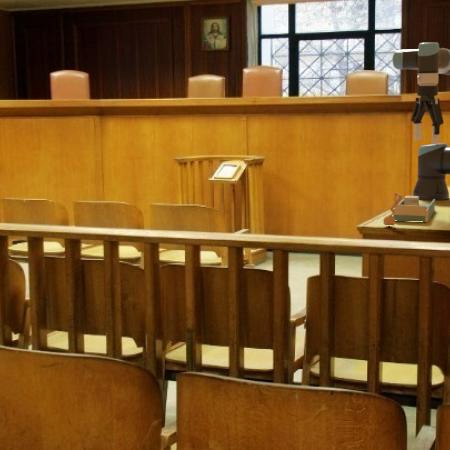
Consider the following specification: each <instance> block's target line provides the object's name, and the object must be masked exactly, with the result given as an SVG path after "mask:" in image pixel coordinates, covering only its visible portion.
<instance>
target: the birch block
mask: <svg viewBox="0 0 450 450" xmlns="http://www.w3.org/2000/svg"><path fill="white" fill-rule="evenodd" d="M403 199H404V205H416V206H418V205H419V204H420V199H419V196H413V195H405V196H404V197H403Z"/></svg>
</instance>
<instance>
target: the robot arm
mask: <svg viewBox="0 0 450 450" xmlns="http://www.w3.org/2000/svg"><path fill="white" fill-rule="evenodd" d="M392 65H393V67H394V68H395V70H401V71H402V70H403V71H404V70H417V77H416V79H417V85H418V86H416V89H417V90H416V92H417V93H416V94H417V96H419V97H415V103H414V107H413V111H412V115H411V119H410V121H411V122H412V123H413V127H414V128H413V141H414V142H417V141H418V142H419V141H420V142H421V141H422V130H423V129H422V126H423V125H422V120H423V117H424V115H425V113H426V112H427V113H428V115H429V116H430V121H431V123H432V124H431V144H425V145H424V144H422V145H420V146H419V148H418V153H417V180H416V182H415V185H414V188H413V191H412V196H419V200H426V201H433V199H435V201H442V200H443V201H444V200H447V199H449V198H450V192H449V188H448V184H447V181H446V176H447V175H450V146H448V144H447V142H442V143H440V134H441V133H440V129H441V127H440V126H442V125H443V124H444V118H443V113H442V110H441V105H440V100H441V99H440V98H439V97H437V98H435V96H438V94H439V86H438V84H439V74H440V75H441V74H442V75H446V76H450V49H448V48H444V47H441V48H440V44H439V42H437V41H436V42H420V43H419V44H418V48H417V49H416V48H415V49H413V48H411V49H410V48H409V49H403V48H402V49H397V50H395V51H394V52H393V55H392Z"/></svg>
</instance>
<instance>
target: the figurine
mask: <svg viewBox="0 0 450 450" xmlns="http://www.w3.org/2000/svg"><path fill="white" fill-rule="evenodd" d="M393 195H394V197H393V198H394V203H393V204H392V205H391V207H390V208H389V210H390V211H391V214H389V215H388V214H387V215H386V216H384V218H383V225H384V226H385V225H393V226H395V225H396V222H395V218H394V217H393V214H394V211H395V210H394V208H395V207H396V206H397V205H398V204H399V203H400V202H401V201H402V200H403V194H402V193H398V192H397V191H395V192H394V194H393Z"/></svg>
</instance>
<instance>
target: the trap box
mask: <svg viewBox="0 0 450 450" xmlns="http://www.w3.org/2000/svg"><path fill="white" fill-rule="evenodd" d="M435 208H436V200H435V199H433V200H431V202H430V203H419V205H418V206H416V205H404V198H402V199H401V201H400V202H399V204H398V205H397V206H396V207H395V208H393V209H394V210H395V211H394V214H393V215H392V216H393V217H394V218H395V220H397V221H423V222H427V221H428V222H429V220H430V219H429V218H431V217H432V215H433V214H434V212H435V210H436V209H435ZM428 219H429V220H428ZM428 222H427V223H428Z"/></svg>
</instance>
